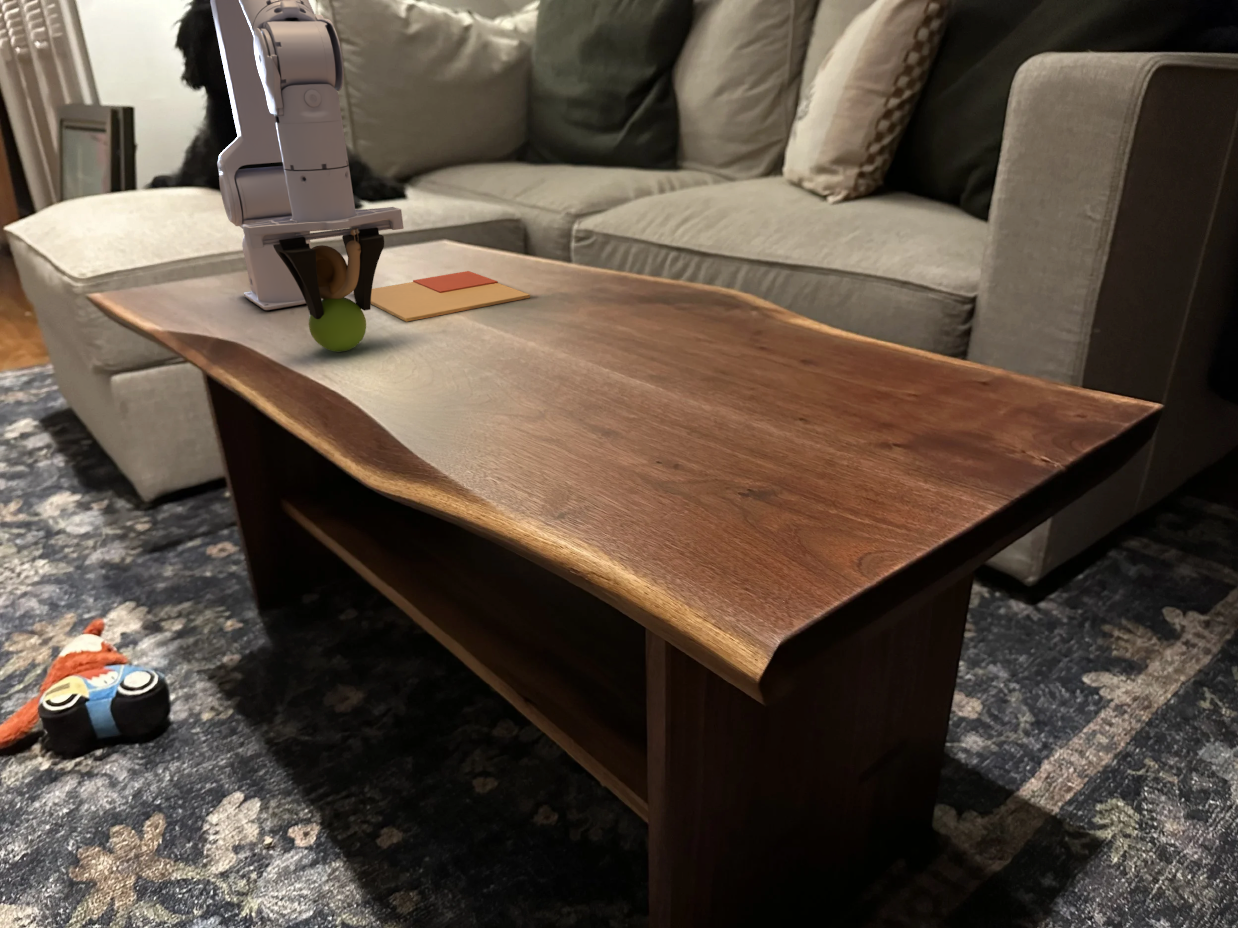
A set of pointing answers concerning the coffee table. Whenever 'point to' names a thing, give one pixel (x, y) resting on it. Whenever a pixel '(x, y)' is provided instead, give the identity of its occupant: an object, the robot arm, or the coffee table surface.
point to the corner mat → (442, 295)
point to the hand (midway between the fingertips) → (340, 312)
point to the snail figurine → (338, 298)
